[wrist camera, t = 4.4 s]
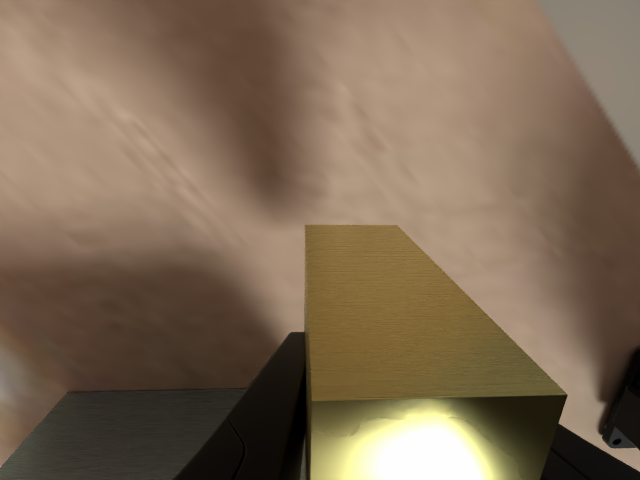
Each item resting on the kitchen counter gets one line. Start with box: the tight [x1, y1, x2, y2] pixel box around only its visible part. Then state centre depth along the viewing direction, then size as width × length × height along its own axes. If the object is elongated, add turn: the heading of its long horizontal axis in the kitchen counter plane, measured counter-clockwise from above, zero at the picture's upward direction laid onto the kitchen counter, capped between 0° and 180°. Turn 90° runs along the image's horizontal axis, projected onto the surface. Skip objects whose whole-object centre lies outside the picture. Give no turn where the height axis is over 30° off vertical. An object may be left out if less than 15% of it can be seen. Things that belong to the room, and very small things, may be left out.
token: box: [304, 225, 567, 480], centre depth 7 cm, size 2×6×6 cm, turn 179°
